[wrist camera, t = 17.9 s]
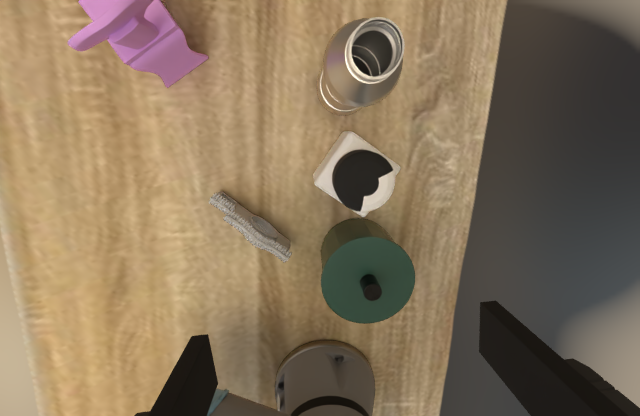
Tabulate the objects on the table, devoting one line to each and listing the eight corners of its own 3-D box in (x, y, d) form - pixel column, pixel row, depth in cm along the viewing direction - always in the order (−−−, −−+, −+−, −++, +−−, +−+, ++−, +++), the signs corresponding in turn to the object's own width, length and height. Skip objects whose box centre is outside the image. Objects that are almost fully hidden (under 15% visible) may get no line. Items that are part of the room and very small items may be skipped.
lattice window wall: (213, 197, 42) (199, 208, 37) (221, 187, 42) (208, 196, 36) (286, 249, 44) (283, 267, 39) (294, 239, 44) (292, 256, 38)
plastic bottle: (306, 100, 40) (306, 72, 20) (332, 48, 39) (359, -34, 19) (350, 125, 41) (391, 122, 21) (377, 76, 39) (447, 25, 20)
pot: (402, 265, 46) (423, 294, 38) (340, 295, 47) (348, 331, 38) (372, 205, 43) (388, 223, 35) (308, 239, 44) (308, 264, 36)
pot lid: (426, 293, 38) (438, 309, 35) (346, 332, 39) (350, 352, 36) (388, 217, 36) (397, 226, 32) (304, 260, 37) (304, 274, 33)
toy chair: (168, -19, 36) (75, -118, 22) (215, 53, 38) (160, 6, 24) (111, 25, 37) (-16, -43, 22) (160, 92, 39) (74, 70, 24)
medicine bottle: (311, 175, 42) (314, 193, 30) (343, 129, 41) (358, 129, 29) (355, 204, 43) (373, 232, 32) (386, 161, 42) (418, 173, 30)
